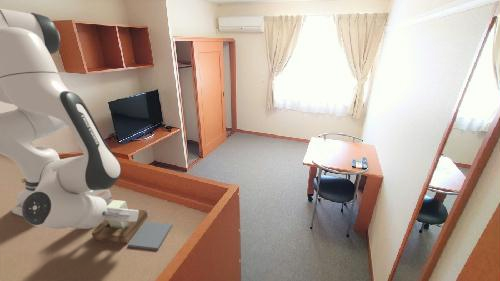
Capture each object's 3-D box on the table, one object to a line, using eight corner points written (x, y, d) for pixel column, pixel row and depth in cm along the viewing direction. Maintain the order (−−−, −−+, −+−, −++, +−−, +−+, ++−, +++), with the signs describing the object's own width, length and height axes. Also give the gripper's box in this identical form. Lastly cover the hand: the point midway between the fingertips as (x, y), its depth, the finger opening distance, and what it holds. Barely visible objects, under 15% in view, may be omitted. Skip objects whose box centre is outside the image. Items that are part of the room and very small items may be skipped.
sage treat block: (112, 231, 79) (104, 208, 74) (120, 222, 83) (113, 199, 78) (124, 233, 78) (116, 210, 74) (132, 223, 82) (125, 201, 78)
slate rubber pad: (128, 246, 73) (128, 244, 73) (145, 223, 82) (145, 221, 82) (158, 249, 72) (157, 248, 71) (172, 225, 81) (172, 224, 80)
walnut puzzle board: (94, 239, 76) (91, 232, 74) (118, 213, 86) (116, 207, 85) (127, 243, 74) (125, 236, 73) (147, 216, 85) (146, 210, 84)
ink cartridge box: (110, 207, 90) (99, 175, 84) (117, 212, 87) (106, 179, 81) (86, 221, 83) (72, 187, 77) (93, 226, 81) (80, 192, 75)
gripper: (125, 203, 65) (150, 207, 78) (62, 197, 68) (96, 202, 81) (119, 227, 63) (145, 227, 76) (53, 220, 66) (90, 221, 79)
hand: (119, 214), depth 79 cm, fingers open, 8 cm apart
